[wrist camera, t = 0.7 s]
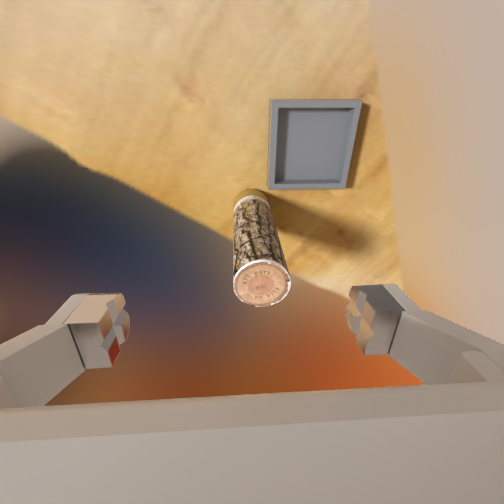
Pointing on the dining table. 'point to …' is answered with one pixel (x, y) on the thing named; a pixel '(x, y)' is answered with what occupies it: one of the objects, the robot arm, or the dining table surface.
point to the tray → (311, 142)
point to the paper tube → (257, 252)
